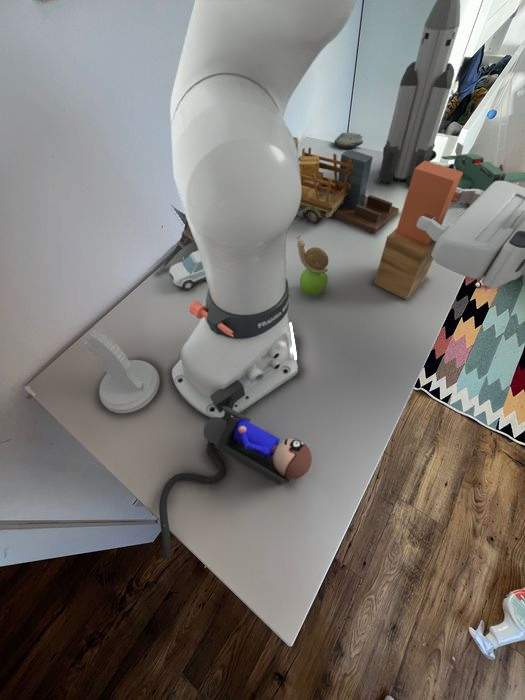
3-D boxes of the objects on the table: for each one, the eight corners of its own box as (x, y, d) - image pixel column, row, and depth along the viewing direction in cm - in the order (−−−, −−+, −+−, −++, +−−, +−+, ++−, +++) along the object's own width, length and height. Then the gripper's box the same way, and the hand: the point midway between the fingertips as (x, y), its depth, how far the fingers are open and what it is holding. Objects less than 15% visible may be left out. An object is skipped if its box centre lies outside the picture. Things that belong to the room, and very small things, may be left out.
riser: (406, 299, 65) (424, 252, 56) (374, 283, 68) (387, 236, 59) (424, 280, 68) (444, 232, 59) (392, 265, 71) (407, 217, 62)
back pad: (427, 245, 57) (453, 180, 48) (395, 232, 60) (414, 168, 51) (436, 236, 58) (463, 172, 49) (404, 224, 61) (424, 160, 52)
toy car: (169, 278, 72) (162, 259, 68) (223, 256, 75) (220, 237, 71) (179, 294, 69) (172, 276, 65) (235, 271, 72) (232, 252, 68)
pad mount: (374, 234, 77) (387, 180, 67) (324, 213, 83) (329, 159, 73) (397, 214, 81) (413, 159, 71) (348, 195, 87) (356, 142, 77)
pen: (453, 167, 92) (457, 164, 91) (429, 196, 85) (433, 193, 84) (450, 163, 92) (455, 160, 91) (426, 191, 85) (430, 188, 83)
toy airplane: (544, 205, 78) (570, 153, 70) (433, 216, 79) (447, 166, 71) (494, 171, 93) (511, 126, 86) (402, 181, 94) (411, 137, 87)
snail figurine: (302, 277, 70) (304, 226, 61) (331, 287, 68) (338, 235, 58) (289, 293, 68) (290, 243, 58) (319, 304, 65) (324, 254, 56)
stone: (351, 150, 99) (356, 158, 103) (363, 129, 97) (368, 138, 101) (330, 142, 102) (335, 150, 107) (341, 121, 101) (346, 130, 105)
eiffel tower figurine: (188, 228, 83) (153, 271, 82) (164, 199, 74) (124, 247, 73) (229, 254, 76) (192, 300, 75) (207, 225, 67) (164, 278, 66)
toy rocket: (375, 183, 89) (415, -9, 61) (381, 167, 93) (422, -19, 65) (421, 190, 86) (486, -10, 57) (425, 173, 90) (488, -20, 62)
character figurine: (229, 413, 54) (314, 463, 48) (200, 451, 50) (289, 510, 44) (224, 386, 47) (321, 440, 42) (190, 426, 44) (292, 491, 38)
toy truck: (264, 183, 92) (260, 122, 80) (349, 209, 83) (358, 143, 71) (241, 204, 88) (233, 141, 75) (328, 233, 78) (334, 167, 66)
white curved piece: (128, 354, 61) (89, 295, 49) (171, 375, 58) (140, 317, 46) (88, 398, 56) (34, 344, 44) (132, 423, 53) (87, 373, 41)
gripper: (568, 186, 49) (472, 159, 55) (512, 258, 41) (407, 217, 47) (541, 225, 54) (456, 196, 60) (487, 296, 46) (395, 254, 52)
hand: (434, 205), depth 53 cm, fingers open, 8 cm apart
